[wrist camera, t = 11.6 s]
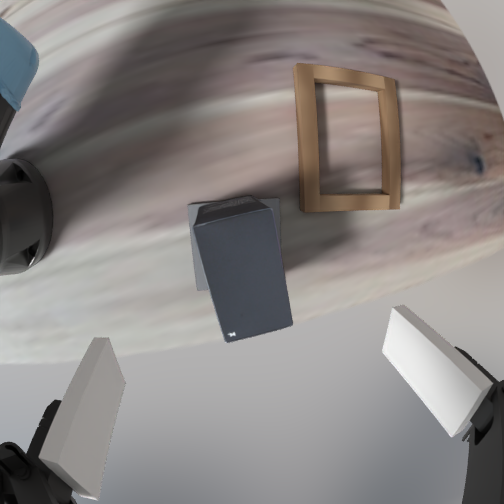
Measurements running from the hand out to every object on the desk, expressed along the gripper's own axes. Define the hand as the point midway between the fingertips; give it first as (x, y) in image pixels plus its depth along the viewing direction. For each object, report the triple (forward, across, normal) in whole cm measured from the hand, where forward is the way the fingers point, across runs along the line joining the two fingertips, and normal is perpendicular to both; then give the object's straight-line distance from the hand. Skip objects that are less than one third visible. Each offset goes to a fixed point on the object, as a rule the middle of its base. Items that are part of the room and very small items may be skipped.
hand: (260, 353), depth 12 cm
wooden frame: (+21, +15, +11) cm, 28 cm away
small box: (+21, +1, -1) cm, 21 cm away
